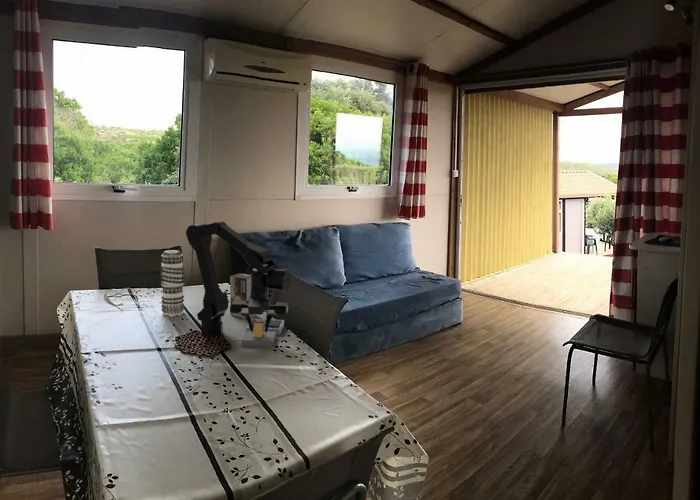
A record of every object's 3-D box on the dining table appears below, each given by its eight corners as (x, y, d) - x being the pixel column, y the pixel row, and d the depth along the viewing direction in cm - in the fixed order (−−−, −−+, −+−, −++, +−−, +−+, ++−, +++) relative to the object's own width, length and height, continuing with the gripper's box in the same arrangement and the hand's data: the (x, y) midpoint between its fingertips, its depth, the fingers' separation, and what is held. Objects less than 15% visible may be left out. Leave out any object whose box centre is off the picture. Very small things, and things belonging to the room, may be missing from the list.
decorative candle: (156, 315, 210) (154, 252, 206) (167, 309, 219) (166, 248, 215) (178, 317, 209) (177, 253, 205) (189, 311, 218) (188, 250, 214)
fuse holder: (241, 348, 177) (241, 340, 177) (247, 338, 187) (247, 330, 187) (271, 349, 177) (271, 341, 177) (276, 339, 187) (276, 331, 187)
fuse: (254, 343, 180) (254, 322, 179) (256, 339, 184) (256, 318, 183) (261, 343, 180) (262, 322, 179) (264, 339, 184) (264, 318, 183)
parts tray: (245, 336, 190) (245, 327, 189) (251, 326, 201) (251, 318, 200) (279, 337, 190) (280, 329, 189) (284, 327, 201) (284, 320, 200)
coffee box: (257, 315, 215) (258, 275, 213) (246, 319, 210) (246, 278, 207) (241, 311, 220) (241, 272, 218) (229, 314, 215) (229, 275, 212)
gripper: (225, 291, 171) (225, 339, 174) (284, 294, 171) (283, 341, 174) (233, 284, 182) (233, 328, 185) (288, 286, 182) (287, 330, 185)
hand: (259, 332), depth 182 cm, fingers open, 4 cm apart
